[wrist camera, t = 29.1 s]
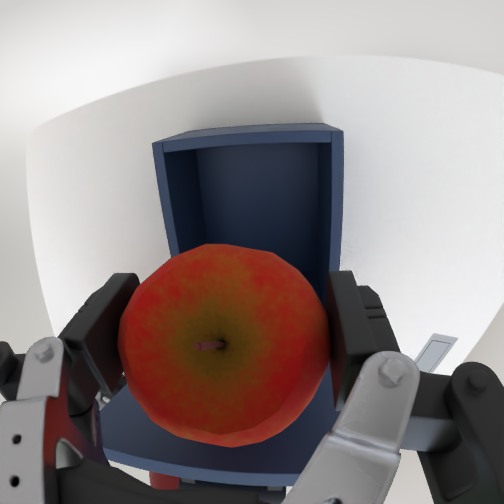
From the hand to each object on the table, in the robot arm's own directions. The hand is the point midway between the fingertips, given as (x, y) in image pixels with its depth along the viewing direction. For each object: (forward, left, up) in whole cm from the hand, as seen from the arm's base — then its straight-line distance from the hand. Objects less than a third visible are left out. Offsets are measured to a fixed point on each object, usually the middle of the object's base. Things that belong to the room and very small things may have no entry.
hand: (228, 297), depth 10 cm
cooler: (+4, -1, -20) cm, 21 cm away
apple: (+5, 0, -2) cm, 5 cm away
